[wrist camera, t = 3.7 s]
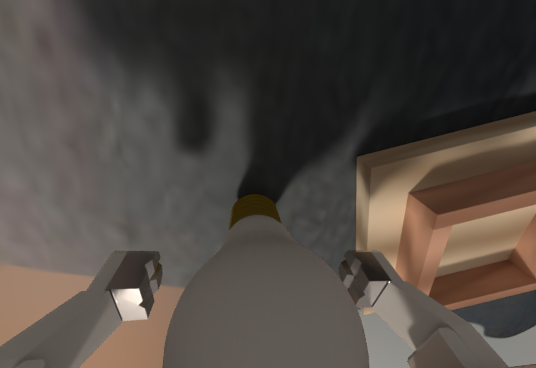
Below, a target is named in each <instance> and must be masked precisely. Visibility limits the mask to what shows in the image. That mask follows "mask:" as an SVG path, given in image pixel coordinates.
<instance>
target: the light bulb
mask: <svg viewBox="0 0 536 368" xmlns="http://www.w3.org/2000/svg"><path fill="white" fill-rule="evenodd" d="M163 368H369V357H368V350H367V343H366V338H365V334H364V329H363V326H362V322H361V319H360V316H359V313H358V310H357V308H356V306H355V303H354V301H353V299H352V297H351V296H350V294H349V292H348V290H347V289H346V287H345V286H344V284H343V282H342V281H341V279H340V278H339V277H338V275H337V274H336V273H335V272H334V271H333V270H332V269H331V268H330V267H329V266H328V265H327V264H326V263H325V262H324V261H323V260H322V259H321V258H320V257H318V256H317V255H316V254H314V253H313V252H311V251H309V250H308V249H306V248H304V247H303V246H301V245H299V244H298V243H296V242H295V241H294V239H293V238H292V236H291V235H290V233H289V232H288V230H287V229H286V228H285V227H284V226H283V225H282V223H281V221H280V217H279V214H278V212H277V209H276V206H275V204H274V202H273V201H272V200H271V199H269V198H268V197H266V196H263V195H259V194H252V195H247V196H244V197H242V198H241V199H239V200H238V201H237V202H236V203H235V204H234V206H233V208H232V212H231V219H230V228H229V231H228V233H227V235H226V237H225V241H224V244H223V246H222V248H221V249H220V251H219V252H218V253H217V254H216V255H215V256H214V257H212V258H211V259H210V260H209V261H208V262H207V263H206V264H205V265H204V266H203V267H202V268H201V269H200V270H199V271H198V272H197V273H196V275H195V276H194V277H193V278H192V280H191V281H190V283H189V284H188V285H187V287H186V288H185V290H184V292H183V294H182V295H181V297H180V299H179V302H178V304H177V306H176V308H175V311H174V313H173V316H172V319H171V321H170V324H169V328H168V332H167V336H166V342H165V347H164V357H163Z"/></svg>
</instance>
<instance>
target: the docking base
mask: <svg viewBox="0 0 536 368" xmlns="http://www.w3.org/2000/svg"><path fill="white" fill-rule="evenodd" d="M356 250H367V251H368V250H379V251H380V252H382V254H383V255H384V256H385V258H386V259H387V260H388V261H389V263H390V264H391V265H392V267H393V268H394V269H395V271H396V272H397V273H398V275H399V276H400V277H401V279H402V280H403V281H407V282H409V283H410V284H412V285H413V286H415V287H416V288H418V289H419V290H420V291H422V292H423V293H425V294H426V295H428V296H429V297H431V298H432V299H434V300H435V301H437V302H438V303H440V304H441V305H443V306H444V307H446V308H447V309H449V310H454V309H458V308H462V307H466V306H470V305H474V304H479V303H483V302H487V301H491V300H495V299H499V298H503V297H507V296H511V295H515V294H519V293H523V292H527V291H531V290H535V289H536V111H535V112H531V113H527V114H523V115H519V116H515V117H511V118H507V119H503V120H499V121H495V122H491V123H487V124H484V125H480V126H476V127H472V128H468V129H464V130H460V131H456V132H452V133H448V134H444V135H440V136H436V137H432V138H429V139H425V140H421V141H417V142H413V143H409V144H405V145H401V146H397V147H393V148H389V149H385V150H381V151H377V152H374V153H370V154H366V155H362V156H358V157H357V196H356ZM361 310H362V312H363V314H364V315H366V314H370V313H374V312H375V311H374V310H373V309H372V307H366V308H361Z"/></svg>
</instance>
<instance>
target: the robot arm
mask: <svg viewBox="0 0 536 368" xmlns="http://www.w3.org/2000/svg"><path fill="white" fill-rule="evenodd" d="M344 257H345V260H344V261H343V262H341V264H340V267H339V275H340V279H341V281H342V282H343V284H344V285H345V286H346V287H347V288H348V292H349V294H350V296H351V297H352V299H353V301H354V303H355V306H356V308H366V307H372V309H373V310H374V311H375V312H376V313H377V314H378V315H379V316H380V317H381V318H382V319H383V320H384V321H385V322H386V323H387V324H388V325H389V326H390V327H391V328H392V329H393V330H394V331H395V332H396V333H397V334H398V335H399V336H400V337H401V338H402V339H403V340H404V341H405V342H406V343H407V344H408V345H409V346H410V347H411V348H412V349H413V350H414V351H415V352H414V353H413V354H412V355H410V357H409V358H408V361H407V362H408V364H409V366H410V367H411V368H536V364H531V365H524V366H515V367H508V366H507V364H506V363H505V362H504V361H503V360H502V359H501V358H500V357H499V355H498V354H497V353H496V352H495V351H494V350H493V349H492V348H491V347H490V345H489V344H488V343H487V342H486V341H485V340H484V339H483V337H482V336H481V335H480V334H479V333H478V332H477V331H476V330H475V328H474V327H473V326H472V325H471V324H469V323H468V322H466V321H465V320H464V319H462V318H461V317H459V316H458V315H456V314H455V313H453V312H452V311H450V310H449V309H447V308H446V307H444V306H443V305H441V304H440V303H438V302H437V301H435V300H434V299H432V298H431V297H429V296H428V295H426V294H425V293H423V292H422V291H420V290H419V289H418V288H416V287H415V286H413V285H412V284H410V283H409V282H407V281H403V280H402V279H401V277H400V276H399V275H398V273H397V272H396V271H395V269H394V268H393V267H392V265H391V264H390V263H389V261H388V260H387V259H386V258H385V256H384V255H383V254H382V252H380V251H379V250H368V251H367V250H349V251H347V252H346V253H345V255H344ZM159 260H160V254H159V252H157V251H115V252H113V253H112V254H111V255H110V257H109V258H108V260H107V261H106V263H105V264H104V266H103V267H102V268H101V270H100V271H99V273H98V274H97V276H96V277H95V279H94V280H93V282H92V283H91V285H90V286H89V288H88V289H87V291H81V292H80V293H78V294H77V295H75V296H74V297H72V298H71V299H69V300H68V301H66V302H65V303H64V304H62V305H60V306H59V307H58V308H56V309H55V310H53V311H52V312H50V313H49V314H47V315H46V316H44V317H43V318H42V319H40V320H39V321H37V322H35V323H34V324H33V325H31V326H30V327H28V328H27V329H26V330H24V331H22V332H21V333H19V334H18V335H16V336H15V337H13V338H12V339H10V340H9V341H8V342H6V343H5V344H3V345H2V346H0V368H79V367H80V366H81V365H82V364H83V363H84V362H85V361H86V360H87V359H88V358H89V357H90V355H92V353H93V352H94V351H95V350H96V349H97V348H98V347H99V346H100V345H101V344H102V343H103V342H104V341H105V340H106V339H107V338H108V337H109V336H110V335H111V334H112V333H113V332H114V331H115V330H116V328H117V327H118V326H119V325H120V324H121V323H122V321H129V320H141V319H148V317H149V314H150V311H151V309H152V306H153V303H154V297H153V294H154V293H155V292H156V291H157V290H158V289H159V287H160V284H161V279H162V265H161V264H160V263H158V262H159Z"/></svg>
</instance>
